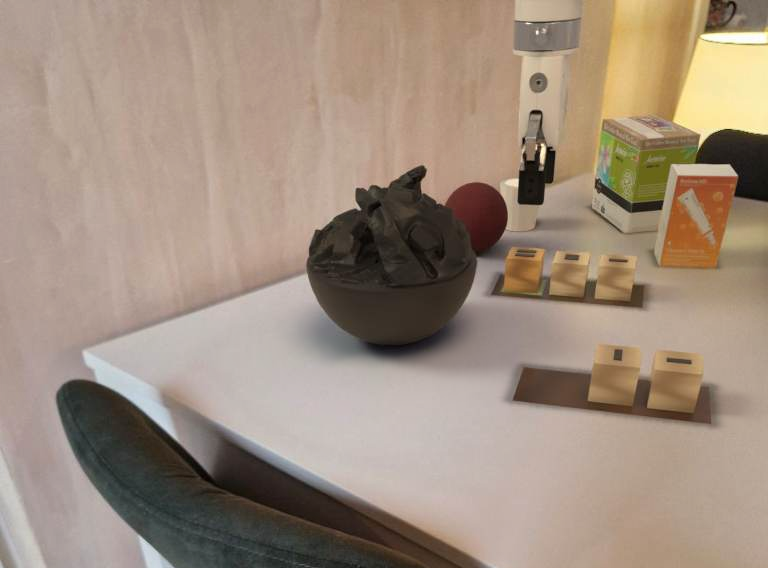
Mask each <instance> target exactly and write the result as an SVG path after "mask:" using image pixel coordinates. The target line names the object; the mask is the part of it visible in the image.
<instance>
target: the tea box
mask: <svg viewBox="0 0 768 568" xmlns="http://www.w3.org/2000/svg"><path fill="white" fill-rule="evenodd" d="M601 124H602V125H601V129H600V136H599V137H600V138H599V146H598V147H599V148H598V154H597V163H596V170H595V177H594V187H593V193H592V203H591V208H592V210H594V211H596V212H597V213H598V214H600V215H601V216H602V217H603V218H605V219H606V220H608V221H609V222H610V223H611V224H612V225H614V226H615V227H616V228H617V229H618V230H619V231H620V232H622V233H625V234H632V233H641V232H653V231H654V232H655V231H658V228H659V223H660V218H661V213H662V208H663V203H664V198H665V193H666V188H667V182H668V177H669V172H670V167H671V164H696V159H697V156H698V151H699V145H700V139H701V136H702V135H701V133H698V132H696V131H693V130H692V129H690V128H687V127H685V126H682V125H680V124H678V123H676V122H673V121H672V120H669V119H668V118H665V117H663V116H661V115H658V114H649V115H640V116H639V115H638V116H627V117H618V118H603V119H602V123H601Z"/></svg>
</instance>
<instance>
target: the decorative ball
mask: <svg viewBox="0 0 768 568" xmlns="http://www.w3.org/2000/svg"><path fill="white" fill-rule="evenodd" d="M444 206H446V207H449V208H452V210H453V217H454V218H455V219H458V220H460V221H462V222H463V223H464V224H465V225H466V229H467V230H468V231H469V233H470V242H471V249H472V250H473V251H474V252H475V253H479V252H484V251H487V250H488V249H491V248H492V247H493V246H494V245H496V244H497V243H498V242H499V241H500V240H501V238H502V237H503V235H504V233H505V231H506V226H507V221H508V211H507V206H506V203H505V200H504V198H503V197H502V195H501V194H500V191H499V190H497V188H495V187H494V186H493V185H490V184H488V183H486V182H481V181H480V182H479V181H474V182H468V183H465V184H463V185H461V186H459V187H457V188H456V189H454V191H453V192H451V194H450V195H449V196H448V198H447V200H446V202H445V203H444Z"/></svg>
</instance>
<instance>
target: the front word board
mask: <svg viewBox="0 0 768 568" xmlns="http://www.w3.org/2000/svg"><path fill="white" fill-rule="evenodd" d="M642 350H643V349H642V347H635V346H626V345H625V346H624V345H615V344H614V345H613V344H603V343H596V347H595V352H594V357H593V363H592V370H591V374H590V373H582V372H573V371H566V370H565V371H564V370H556V369H555V370H554V369H545V368H538V367H537V368H535V367H528V366H523V368H522V370H521V374H520V377H519V380H518V382H517V385H516V389H515V391H514V395H513V397H512V402H520V403H521V402H522V403H529V404H537V405H545V406H555V407H564V408H571V409H579V410H588V411H596V412H605V413H614V414H620V415H629V416H631V415H632V416H638V417H646V418H656V419H663V420H672V421H680V422H690V423H696V424H697V423H698V424H706V425H712V412H711V399H710V398H711V397H710V387H709V386H705V385H704V386H703V385H702V382H703V378H704V361H703V359H704V358H703V354H702V353H698V352H697V353H695V352H685V351H674V350H664V349H655V351H654V355H653V361H652V366H651V370H650V375H649V380H648V379H639V378H640V377H639V376H640V371H641V364H642Z"/></svg>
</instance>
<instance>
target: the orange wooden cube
mask: <svg viewBox="0 0 768 568" xmlns="http://www.w3.org/2000/svg"><path fill="white" fill-rule="evenodd" d="M545 255H546V249H545V248H535V247H534V248H533V247H521V246H520V247H519V246H511V248H510V249H509V252H508V253H507V256H506V258H505V270H504V275H505V282H504V290H505V291H516V292H528V293H538V290H539V288H540V285H541V282H542V277H543V275H544V265H545Z"/></svg>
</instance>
